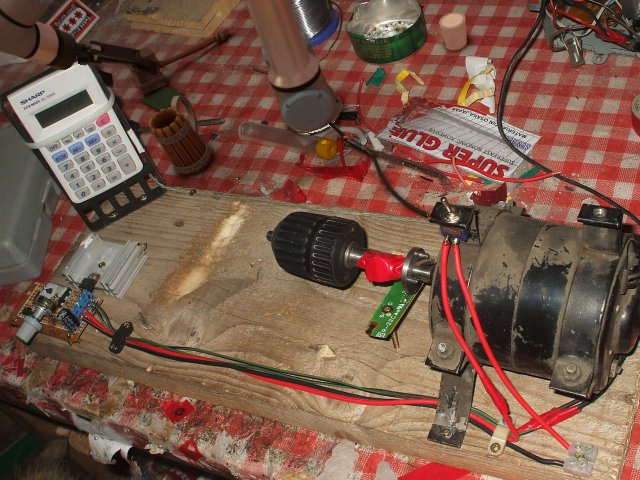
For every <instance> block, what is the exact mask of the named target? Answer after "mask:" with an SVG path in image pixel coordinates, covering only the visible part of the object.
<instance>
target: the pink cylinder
mask: <svg viewBox="0 0 640 480" xmlns="http://www.w3.org/2000/svg"><path fill="white" fill-rule="evenodd" d="M438 24H439V28H440V32H441V34H442V37H443V41H444V44H445V47H446V49H448V50H449V51H458V50H461V49H463V48H464V47H465V46H466V45H467V43H468V39H467V38H468V37H467V22H466V16H465V14H464V13H463V12H458V11H452V12H449V13H446V14H445V15H443V16H442V17H441V18H440V19H439V21H438Z"/></svg>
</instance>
